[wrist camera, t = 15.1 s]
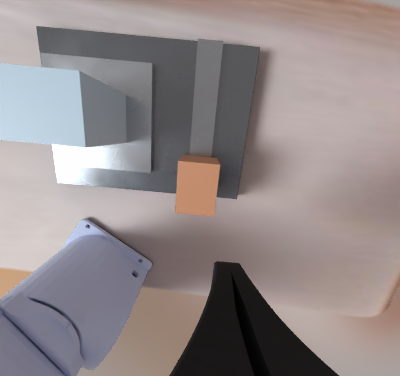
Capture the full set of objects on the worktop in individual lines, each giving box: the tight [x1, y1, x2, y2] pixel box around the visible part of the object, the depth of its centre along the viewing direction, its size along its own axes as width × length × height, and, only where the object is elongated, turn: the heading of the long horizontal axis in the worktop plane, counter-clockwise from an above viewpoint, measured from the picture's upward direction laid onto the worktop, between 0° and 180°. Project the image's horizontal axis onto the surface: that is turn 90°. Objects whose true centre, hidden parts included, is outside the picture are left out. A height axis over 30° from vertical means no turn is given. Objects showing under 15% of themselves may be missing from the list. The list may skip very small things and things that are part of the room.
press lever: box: [175, 155, 220, 216], centre depth 16 cm, size 3×4×4 cm
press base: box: [36, 26, 260, 199], centre depth 17 cm, size 18×13×2 cm
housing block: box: [0, 63, 127, 148], centre depth 13 cm, size 5×4×6 cm
